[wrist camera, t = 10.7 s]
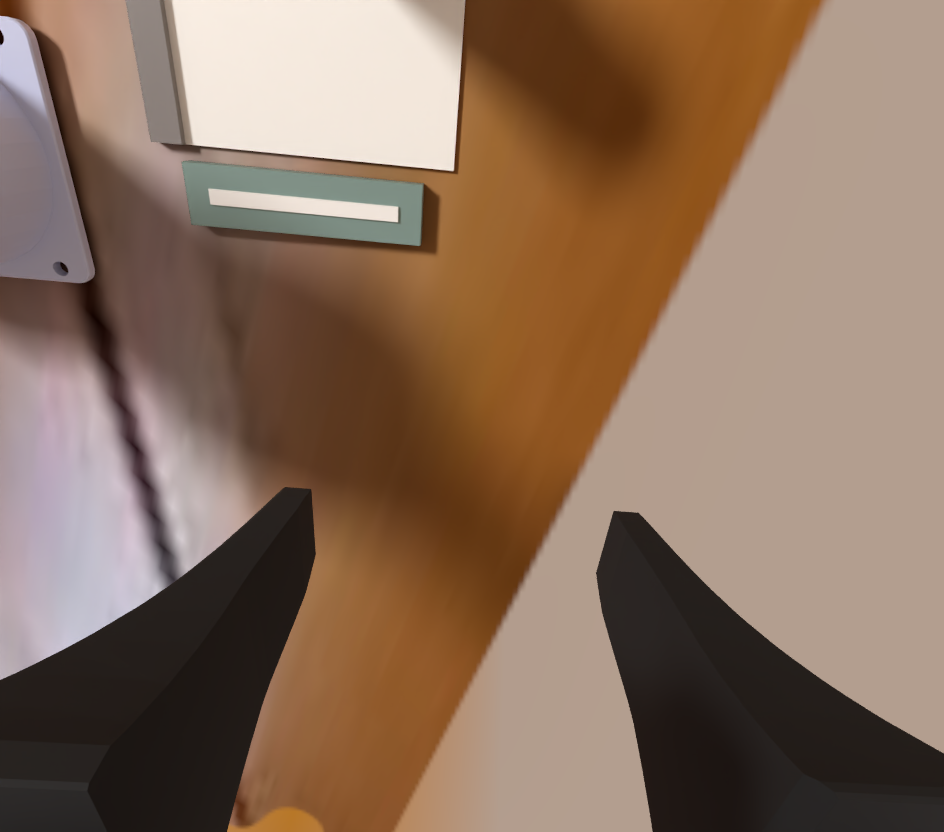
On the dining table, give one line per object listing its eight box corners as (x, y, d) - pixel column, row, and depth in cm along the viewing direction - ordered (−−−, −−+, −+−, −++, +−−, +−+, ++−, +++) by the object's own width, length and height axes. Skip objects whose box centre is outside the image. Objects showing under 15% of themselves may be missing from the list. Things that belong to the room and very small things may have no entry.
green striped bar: (198, 221, 19) (190, 224, 19) (189, 160, 18) (180, 161, 18) (421, 242, 20) (419, 246, 19) (424, 183, 19) (422, 185, 18)
